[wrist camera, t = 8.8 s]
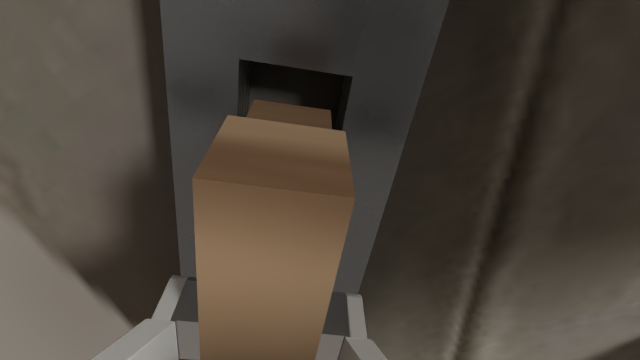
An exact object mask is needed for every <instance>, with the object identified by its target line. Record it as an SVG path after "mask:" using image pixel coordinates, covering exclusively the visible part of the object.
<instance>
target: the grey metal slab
mask: <svg viewBox="0 0 640 360" xmlns="http://www.w3.org/2000/svg"><path fill="white" fill-rule="evenodd" d="M449 1H450V0H160V13H161V26H162V39H163V52H164V65H165V78H166V91H167V104H168V117H169V130H170V143H171V156H172V169H173V182H174V195H175V208H176V221H177V234H178V247H179V260H180V273H181V276H187V277H196V278H197V276H196V253H195V230H194V207H193V185H192V178H193V176H194V174H195V172H196V170H197V169H198V167H199V165H200V163H201V162H202V160H203V158H204V156H205V155H206V153H207V151H208V149H209V148H210V146H211V144H212V142H213V140H214V139H215V137H216V135H217V133H218V132H219V130H220V128H221V126H222V125H223V123H224V121H225V119H226V117H227V116H228V115H232V116H239V117H246V116H247V114H248V106H249V86H250V65H251V61H255V62H262V63H268V64H275V65H281V66H288V67H294V68H301V69H307V70H313V71H320V72H326V73H333V74H339V75H344V80H343V86H342V91H341V96H340V101H339V107H338V112H337V117H336V122H335V128H334V129H332V130H339V131H345V132H346V139H347V145H348V152H349V158H350V165H351V171H352V178H353V184H354V191H355V197H356V199H355V203H354V207H353V211H352V215H351V219H350V223H349V227H348V231H347V235H346V239H345V243H344V247H343V251H342V255H341V259H340V263H339V267H338V271H337V275H336V279H335V283H334V287H333V292H345V293H352V294H358V293H359V289H360V286H361V283H362V280H363V277H364V273H365V270H366V267H367V264H368V261H369V257H370V254H371V251H372V248H373V245H374V241H375V238H376V235H377V232H378V228H379V225H380V222H381V219H382V216H383V212H384V209H385V206H386V203H387V200H388V196H389V193H390V190H391V187H392V184H393V180H394V177H395V174H396V171H397V168H398V164H399V161H400V158H401V155H402V152H403V148H404V145H405V142H406V139H407V136H408V132H409V129H410V126H411V123H412V120H413V116H414V113H415V110H416V107H417V104H418V100H419V97H420V94H421V91H422V87H423V84H424V81H425V78H426V75H427V71H428V68H429V65H430V62H431V59H432V55H433V52H434V49H435V46H436V43H437V39H438V36H439V33H440V30H441V27H442V23H443V20H444V17H445V14H446V11H447V7H448V4H449ZM187 360H193V359H187Z"/></svg>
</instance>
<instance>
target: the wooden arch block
mask: <svg viewBox="0 0 640 360" xmlns="http://www.w3.org/2000/svg"><path fill="white" fill-rule="evenodd" d="M192 185H193V207H194V230H195V253H196V276H197V298H198V321H199V344H200V360H315V358H316V354H317V350H318V346H319V342H320V338H321V334H322V330H323V326H324V322H325V318H326V315H327V311H328V307H329V303H330V299H331V295H332V291H333V287H334V283H335V279H336V275H337V271H338V267H339V263H340V259H341V255H342V251H343V247H344V243H345V239H346V235H347V231H348V227H349V223H350V219H351V215H352V211H353V207H354V203H355V199H356V197H355V191H354V184H353V178H352V171H351V165H350V158H349V152H348V145H347V139H346V132H345V131H339V130H332V121H331V110H325V109H319V108H312V107H305V106H298V105H291V104H284V103H277V102H270V101H263V100H256V99H254V100H253V103H252V105H251V107H250V109H249V112H248V114H247V116H246V117H239V116H232V115H228V116H227V117H226V119H225V121H224V123H223V125H222V126H221V128H220V130H219V132H218V133H217V135H216V137H215V139H214V140H213V142H212V144H211V146H210V148H209V149H208V151H207V153H206V155H205V156H204V158H203V160H202V162H201V163H200V165H199V167H198V169H197V170H196V172H195V174H194V176H193V178H192Z"/></svg>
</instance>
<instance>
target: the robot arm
mask: <svg viewBox="0 0 640 360" xmlns="http://www.w3.org/2000/svg"><path fill="white" fill-rule="evenodd" d="M179 359H193V360H200V344H199V321H198V298H197V278H196V277H187V276H178V275H173V276H172V277H171V278H170V279H169V281H168V283H167V285H166V287H165V290H164V292H163V294H162V296H161V298H160V300H159V303H158V305H157V307H156V309H155V311H154V313H153V315H152V318H151V319H145V320H143V321H142V322H141V323H139V324H138V325H137V326H135V327H134V328H133V329H131V330H130V331H128V332H127V333H126V334H124V335H123V336H122V337H120V338H119V339H118V340H116V341H115V342H114V343H112V344H111V345H110V346H108V347H107V348H106V349H104V350H103V351H102V352H100V353H99V354H97V356H95V357H94V358H92V359H91V360H179ZM315 360H387V358H386V357H385V356H384V354H383V353H382V352H381V351H380V349H379V348H378V347H377V345H376V344H375V343H374V342H373V340H372V339H367V332H366V324H365V317H364V309H363V301H362V296H361V295H360V294H352V293H345V292H333V291H332V295H331V299H330V303H329V307H328V311H327V315H326V318H325V322H324V326H323V330H322V334H321V338H320V342H319V346H318V350H317V354H316V358H315Z"/></svg>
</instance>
